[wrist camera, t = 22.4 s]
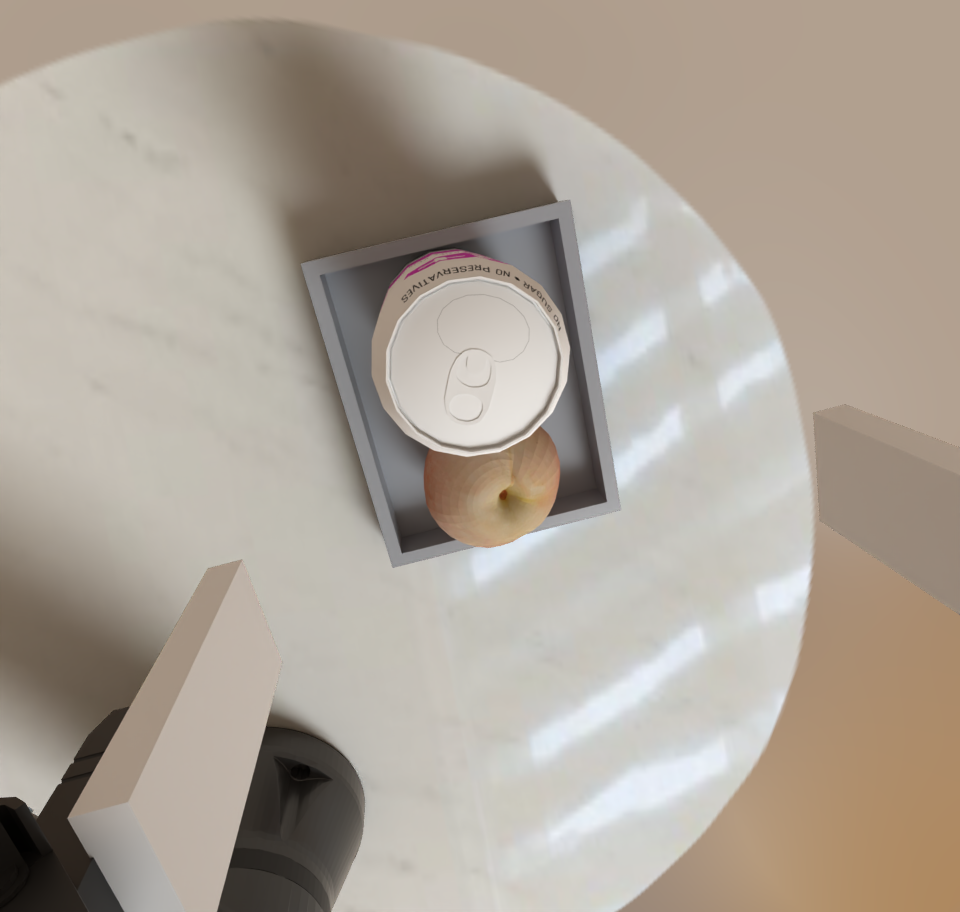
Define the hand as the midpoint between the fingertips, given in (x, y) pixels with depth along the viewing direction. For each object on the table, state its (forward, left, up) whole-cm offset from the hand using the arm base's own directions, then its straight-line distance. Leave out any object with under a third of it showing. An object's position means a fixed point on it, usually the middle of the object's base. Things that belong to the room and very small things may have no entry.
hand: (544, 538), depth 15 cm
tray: (0, -3, -28) cm, 28 cm away
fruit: (0, -8, -27) cm, 28 cm away
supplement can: (0, +1, -27) cm, 27 cm away
